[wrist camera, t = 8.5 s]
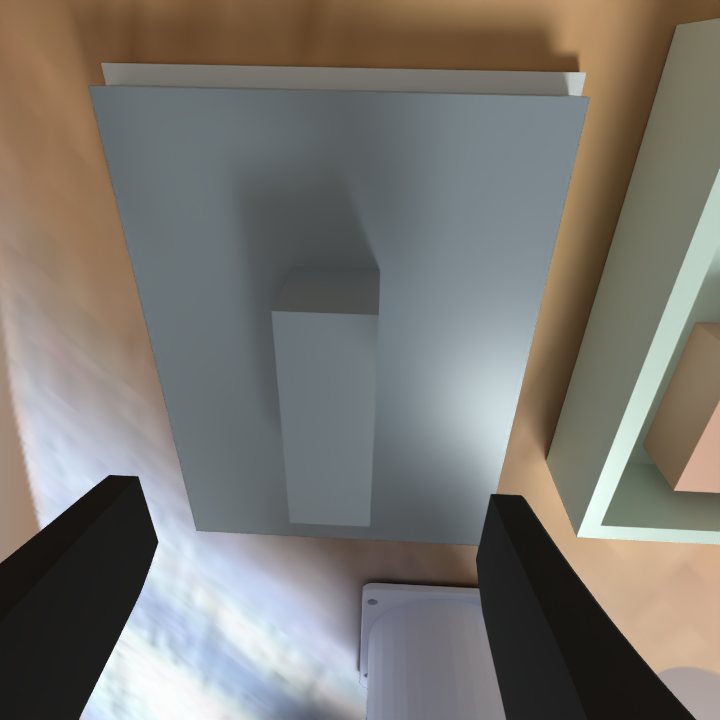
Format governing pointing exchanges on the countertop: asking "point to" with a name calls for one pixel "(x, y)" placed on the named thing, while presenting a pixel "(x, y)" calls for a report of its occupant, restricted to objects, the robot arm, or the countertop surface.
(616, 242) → the storage box
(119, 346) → the countertop surface
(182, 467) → the lid
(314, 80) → the mat
